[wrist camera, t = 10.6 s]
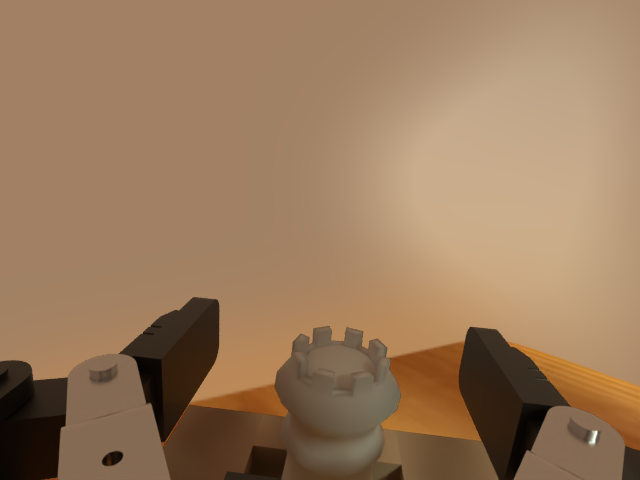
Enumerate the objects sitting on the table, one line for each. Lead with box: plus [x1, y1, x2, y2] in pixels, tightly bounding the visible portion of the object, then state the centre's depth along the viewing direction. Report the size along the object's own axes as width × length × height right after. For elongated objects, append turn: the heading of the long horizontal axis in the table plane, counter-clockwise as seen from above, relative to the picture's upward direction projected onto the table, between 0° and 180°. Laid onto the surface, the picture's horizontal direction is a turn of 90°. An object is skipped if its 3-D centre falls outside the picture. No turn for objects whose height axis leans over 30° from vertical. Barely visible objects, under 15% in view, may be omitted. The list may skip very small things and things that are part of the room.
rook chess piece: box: [275, 326, 401, 480], centre depth 11 cm, size 4×4×8 cm
